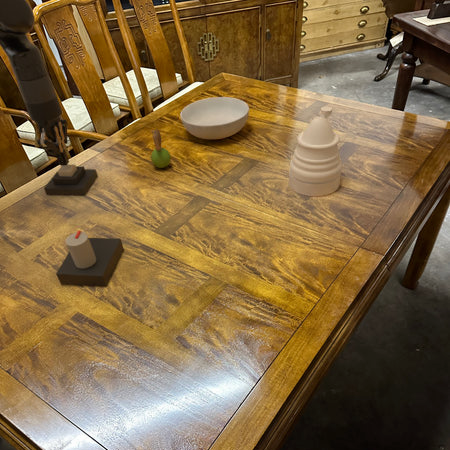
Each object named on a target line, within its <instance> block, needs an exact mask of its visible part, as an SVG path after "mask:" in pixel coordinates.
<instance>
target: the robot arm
mask: <svg viewBox="0 0 450 450" xmlns="http://www.w3.org/2000/svg"><path fill="white" fill-rule="evenodd" d="M35 20H36V19H35V13H34V11H33V8H32V6H31V5H30V3H29V2H28V1H27V0H0V48H1V49H2V50H3V52H4V53H5V55H6V57H7V60H8V62H9V64H10V67H11V69H12V72H13V75H14V77H15V79H16V82H17V87H18V90H19V93H20V95H21V97H22V100H23V103H24V105H25V108H26V111H27V113H28V115H29V118H30V119H31V120H32V121H33V122H35V123H36V124H37V127H38V132H39V134H41V135H40V138H39V139H37V140H36V143H37V145H38V146H40V147H41V148H42V149H43V150H44V151H46V152H47V153H48V154H54V155H55V157H56V160H57V162H58V165H59V166H60V167H61V166H66V165H69V163H70V160H69V157H68V155H67V152H66V150H67V149H66V148H67V146H66V145H68V141H69V139H68V120H67V119H63V118H61V115H62V113H63V110H62V107H61V104H60V101H59V99H58V96H57V92H56V89H55V87H54V83H53V81H52V78H51V77H50V75H49V72H48V69H47V66H46V64H45V61H44V57H43V55H42V53H41V50H40V48H39V47H38V46H37V45H35V44H34V43H33V42H31V41H30V39H29V38H28V35H27V34H28V33H30V32H31V31H32V30H33V28H34V26H35V23H36V22H35Z"/></svg>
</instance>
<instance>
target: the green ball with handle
mask: <svg viewBox="0 0 450 450" xmlns="http://www.w3.org/2000/svg"><path fill="white" fill-rule="evenodd" d="M151 134H152V140H153V144H154V149H153V150H152V153H151V154H150V160H151V163H152V164H153V165H154V166H155V167H156V168H159V169H165V168H167V167H168V166H169V165H170V163H171V161H172V157H171V153H170V151H168V149H167V148H164V147H162V135H161V132H160V130H159V129H155V130H151Z"/></svg>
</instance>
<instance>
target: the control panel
mask: <svg viewBox="0 0 450 450" xmlns="http://www.w3.org/2000/svg"><path fill="white" fill-rule="evenodd" d="M88 238H89V241H90V243H91V246H92V248H93V251H94V254H95V256H96V262H95V264H94V265H92V266H91V267H88V268H84V269H81V268H78V267H76V265H75V263H74V261H73V258H72V256H71V254H70V252H69V251H68V253H67V255H66V256H65V258H64V260H63V261H62V262H61V265H60V266H59V268H58V269H57V271H56V273H55V275H56V277H57V279H58V281H59V283H60V285H66V286H67V285H69V286H85V287H86V286H87V287H107V286H108V283H109V281H110V280H111V278H112V276H113V273H114V271H115V269H116V267H117V265H118V263H119V262H120V258H121V256H122V254H123V252H124V250H125V248H124V246H123V242H122V238H114V237H113V238H110V237H109V238H108V237H88Z"/></svg>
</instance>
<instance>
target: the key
mask: <svg viewBox="0 0 450 450" xmlns="http://www.w3.org/2000/svg"><path fill="white" fill-rule="evenodd" d="M76 171H77V168H76V164H67V165H66V166H61V165H60V167H59V168H58V170H57V171H56V172H58V174H59V177H72V176H73V175H74V174H75V172H76Z"/></svg>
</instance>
